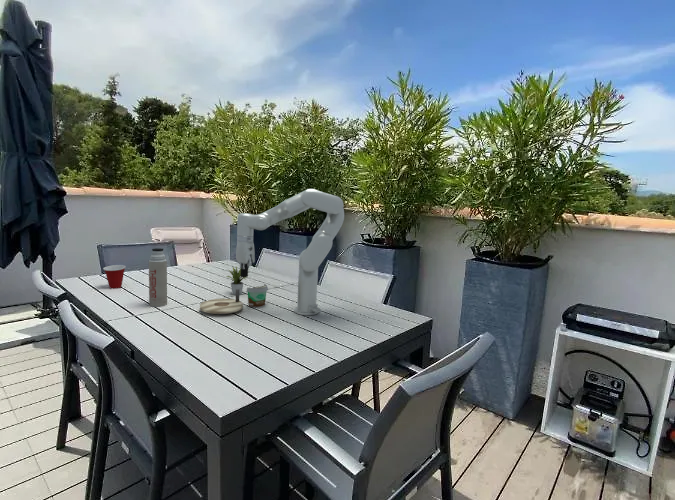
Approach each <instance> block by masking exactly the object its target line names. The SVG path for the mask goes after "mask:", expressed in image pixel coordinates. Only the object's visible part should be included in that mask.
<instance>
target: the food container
mask: <svg viewBox="0 0 675 500" xmlns="http://www.w3.org/2000/svg"><path fill="white" fill-rule="evenodd" d="M267 291H269V288H268V285H267V284H266V283H264V285H261V286H253V287H247V288H246V292H247V306H248V307H250V308H251V307H252V308H261V307H264V306H265V305H266V298H267Z"/></svg>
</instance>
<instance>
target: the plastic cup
mask: <svg viewBox="0 0 675 500" xmlns="http://www.w3.org/2000/svg"><path fill="white" fill-rule="evenodd" d="M102 269H103V271H104V273H105V276H106V280H107V284H108V287H109V289H110V290H111V289H120V288H122V286H123V281H124V273H125V270H126V265H123V264H114V265H109V266H105V267H103V268H102Z"/></svg>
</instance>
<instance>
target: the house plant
mask: <svg viewBox="0 0 675 500" xmlns="http://www.w3.org/2000/svg"><path fill="white" fill-rule="evenodd" d="M250 270H251V269H250V268H249V269H248V277H249V276H250V275H249V273H250V272H249V271H250ZM228 271H229V273H230V274H231V276H229V275H226V276H225V277H226V278H230V279H231V282H230V288H231V293H232V295H233V296H236V289H239V296H240V295H242V294H243V289H244V282H243V280H247V279H248V277H241V276H240V272H241V268H240V267H239V269H238V268H237V266H235V267H234V266H232V270H230V269H228Z"/></svg>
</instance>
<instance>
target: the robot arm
mask: <svg viewBox="0 0 675 500" xmlns="http://www.w3.org/2000/svg"><path fill="white" fill-rule="evenodd" d="M308 209H315V210H318V211H320V212H325V213H326V217H325V219H324V220H323V222H322V224H321V226H320V227H319V228H318V230H317V231H316V232H315V234H314V235H313V236H312V238H311V241H310V243H309V244H308V246H307V248H306V249H304V250H302V251H301V252H300V254H299V258H298V280H297V281H298V282H297V303H296V304H297V305H296V307H294V308H293V312H294V313H295V314H297V315H301V316H313V315H317V314H318V313H320V311H321V310H322V309H321V308H320V307H318V306H319V305H318V303H317V295H318V281H319V280H318V279H319V267H320V266H321V264H322V263H323V262H324V260H325V258H326V257H327V255H328V254H329V253H330V250H332V247H333V240H334V239H335V237H336V236H337V235H338V233H339V231H340V230H341V228H342V226H343V224H344V221H345V210H344V202H343V199H341V197H340V196H338V195H335V194H330V193H327V192H323V191H322V190H321V191H320V190H318V189H315V188H307V189H305V190H303V191H301V192H299V193H297V194H295V195H294V196H291V197H289V198H287V199H285V200H283V201H282V202H280V203H279V204H278V205H275V206H274V207H272V208H270V209H267V210H266V211H264V212H261V213H259V214H252V213H245V212H243V213H242V212H240V213H239V214H238V215H237V221H236V222H237V224H236V227H237V229H236V231H237V233H236V249H235V259H236V261H237V264H238V265H239V269H240V268H241V272H240V277H242V278H243V277H247V278H249V276H248V275H249V273H248V272H249V269H250V267H252V266H253V265H252V264H254V263H255V262H256V261H255V260H256V257H255V256H256V255H255V254H256V253H255V252H256V251H255V244H254V230H257V231H264V230H266V229H268V228H269V227H270V226H273V225H275V224H277V223H279V222H281V221H284V220H287V219H290V218H293V217H294V216H297V215H299V214H300V213H302V212H304V211H306V210H308Z"/></svg>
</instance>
